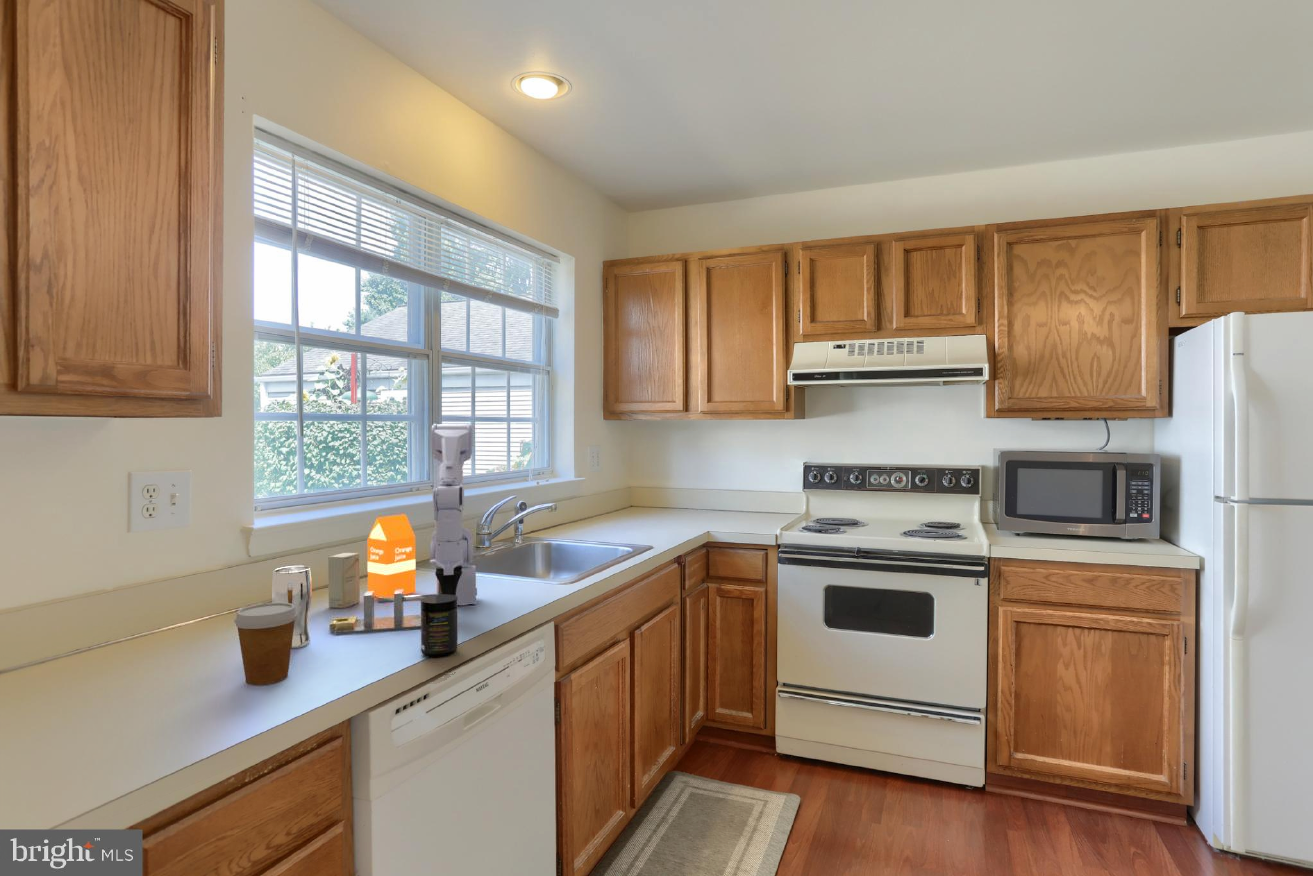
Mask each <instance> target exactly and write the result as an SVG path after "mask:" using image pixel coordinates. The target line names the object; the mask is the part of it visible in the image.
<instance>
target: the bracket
mask: <svg viewBox="0 0 1313 876" xmlns="http://www.w3.org/2000/svg"><path fill="white" fill-rule="evenodd" d="M402 596H404V595H403V589H398V590H395V593H394V602H393V616H386V617H385V616H384V617H382V616H381V617H375V596H374V591H368V590H366V591H365V592H364V595H363V618H357V623H356V625H355V627H354V628H349V629H336V630H335V632H334V636H339V635H340V636H341V635H343V636H344V635H354V634H353V633H356V634H367V633H379V632H381V631H383V632H392V631H407V630H406V629H409V630H421V614H414V615H413V614H412V615H404V602H402Z"/></svg>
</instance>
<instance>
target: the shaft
mask: <svg viewBox="0 0 1313 876" xmlns="http://www.w3.org/2000/svg"><path fill="white" fill-rule="evenodd" d="M441 594H442V591H441V586H440V583H438V594H437V593H433V594H431V593H430V594H417V595H403V596H402V602H403V603H405V602H406V603H407V602H421V599H422V598H424V597H427V596H432V595H441ZM377 601H378V604H388V603H389V604H390V603H393V604H394V597H382V598H380V597H378V600H377Z"/></svg>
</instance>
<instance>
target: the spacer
mask: <svg viewBox="0 0 1313 876" xmlns="http://www.w3.org/2000/svg"><path fill="white" fill-rule="evenodd" d="M357 619H358V616H357V615H355V616H354V615H353V616H341V617H333V618H332V620H331V622H330V623H329V631H331V630H333V631H336V630H337V629H349V628H354V627H355V625H356V623H357Z"/></svg>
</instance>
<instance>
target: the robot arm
mask: <svg viewBox="0 0 1313 876" xmlns="http://www.w3.org/2000/svg"><path fill="white" fill-rule="evenodd" d="M473 433H474V431H473V425H472V424H471V423H468V424H465V423H464V424H461V423H459V424H458V423H457V424H453V423H452V424H450V423H448V424H447V423H443V424H441V423H440V424H437V423H433V424H432V426H431V434H430V435H431V436H430V437H431V441H430V442H431V447H432V448H431V449H432V454H433V457H434V459H435V460H436V461H439V462H440V463H441V464H440V465H439V466H438V467H437V470H436V482H435V487H434V488H433V490H432V509H433V516H434V517H433V519H434V523H435V525H434V526H435V527H434V528H435V531H433V532H432V534H431V541H430V560H429V565H432V566H435V572H434V573H435V577H436V594H438V583H440V586H441V591H442V594H448V595H455V596H457V597H458V605H459V606H468V605H467V604H474V605H476V604H477V596H478V588H477V587H476V586H477V585H476V584H477V582H476V581H477V572H476V571H477V570H476V569H477V568H476V565H474V564H473V565H471V564H472V563H473V561H474V559H473V558H474V556H473V555H474V548H473V547H474V544H473V542H474V540H473V534H472V531H470V530H469V529H468V528H466V527H465V526H464V525H463V511H464V508H465V488H464V482H463V479H464V478H463V477H464V474H463V473H464V471H463V470H464V469H463V467H464V465H465V462H467V461H468V460H471V459H472V455H473V446H474V445H473V443H474V442H473V439H474V438H473Z"/></svg>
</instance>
